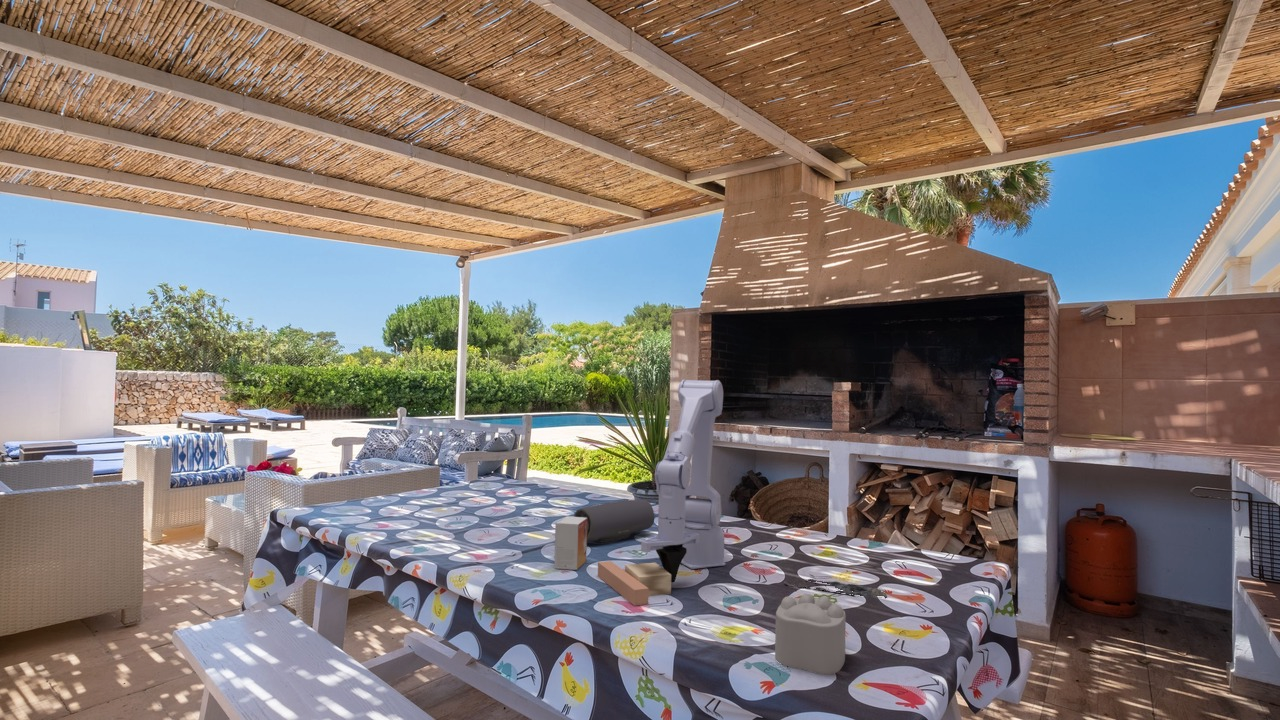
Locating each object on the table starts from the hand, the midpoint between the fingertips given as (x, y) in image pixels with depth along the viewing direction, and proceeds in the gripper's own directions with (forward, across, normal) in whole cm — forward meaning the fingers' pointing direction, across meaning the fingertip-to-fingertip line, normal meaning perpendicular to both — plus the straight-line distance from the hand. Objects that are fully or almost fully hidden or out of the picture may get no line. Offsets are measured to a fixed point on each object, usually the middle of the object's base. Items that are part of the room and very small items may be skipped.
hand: (670, 581), depth 135 cm
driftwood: (+2, -29, +20) cm, 36 cm away
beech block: (+1, +5, -2) cm, 5 cm away
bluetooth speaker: (+1, -13, -40) cm, 42 cm away
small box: (+1, +10, -25) cm, 27 cm away
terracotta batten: (+1, +10, -4) cm, 11 cm away
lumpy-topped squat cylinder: (+1, +2, +38) cm, 39 cm away
